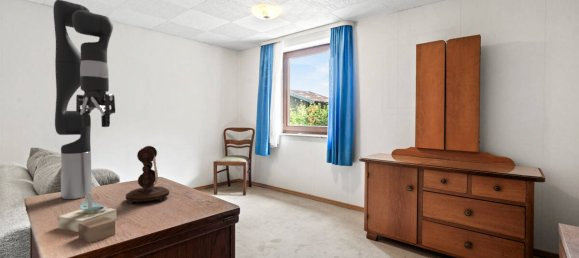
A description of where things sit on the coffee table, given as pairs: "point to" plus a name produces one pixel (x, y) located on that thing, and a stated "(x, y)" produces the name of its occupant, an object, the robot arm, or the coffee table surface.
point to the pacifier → (91, 205)
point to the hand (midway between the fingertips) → (95, 126)
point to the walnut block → (96, 229)
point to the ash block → (82, 218)
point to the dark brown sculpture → (147, 179)
